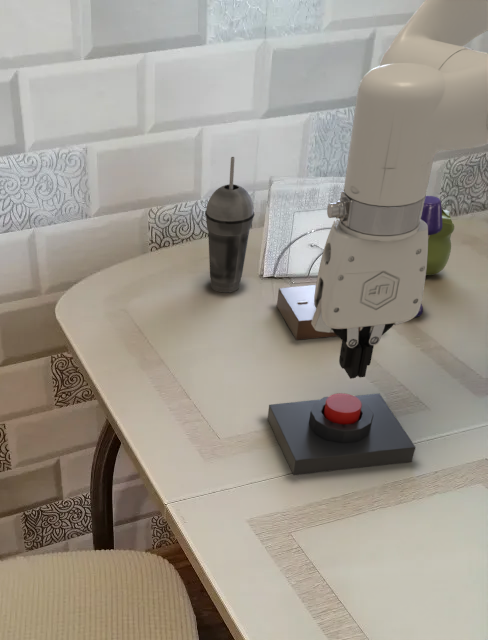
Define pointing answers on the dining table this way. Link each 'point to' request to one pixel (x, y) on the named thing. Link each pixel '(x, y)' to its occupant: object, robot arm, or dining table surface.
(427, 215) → the toy lamp
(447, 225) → the pear
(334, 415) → the power button
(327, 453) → the device
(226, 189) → the beverage cup
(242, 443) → the dining table surface
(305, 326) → the brown wooden base
